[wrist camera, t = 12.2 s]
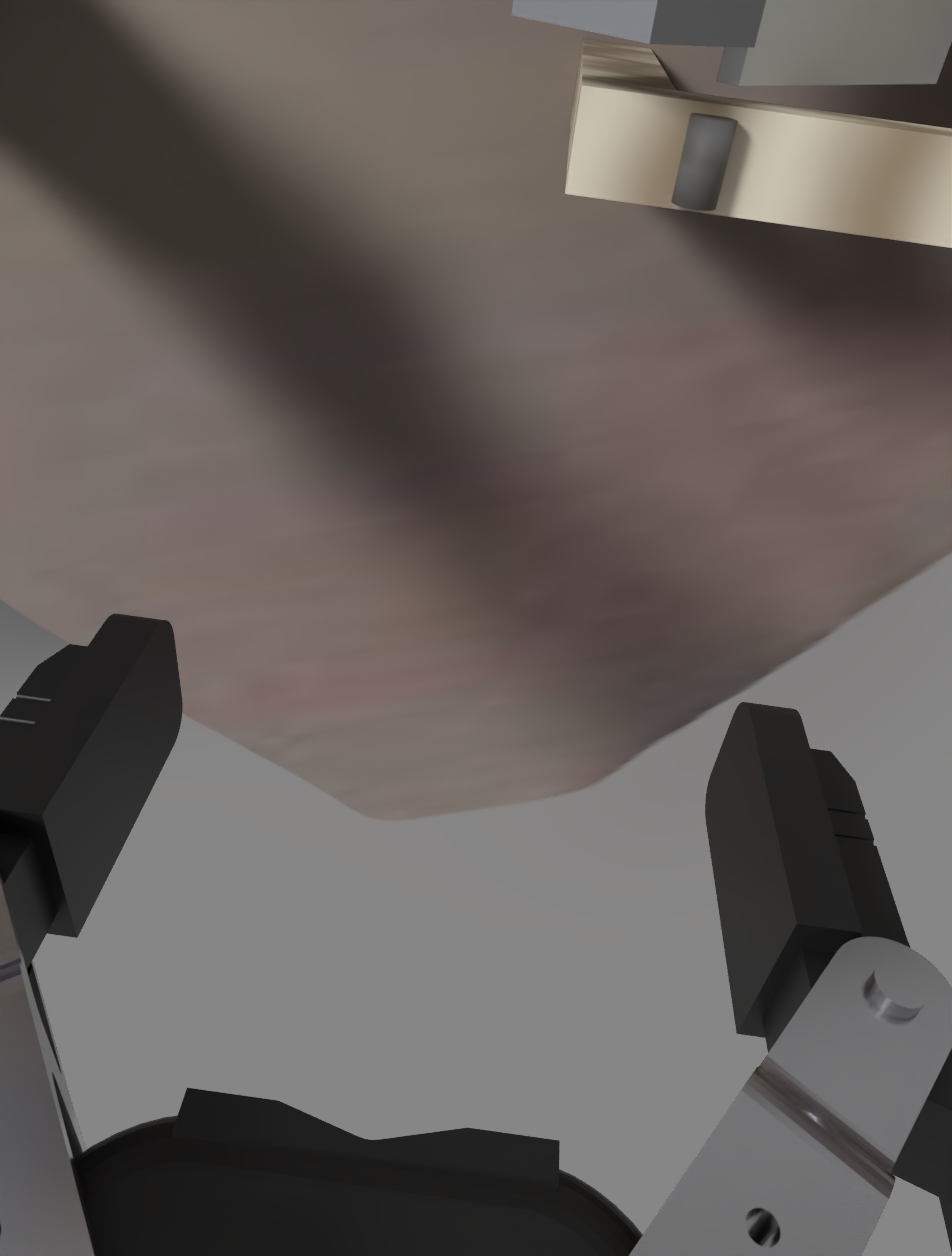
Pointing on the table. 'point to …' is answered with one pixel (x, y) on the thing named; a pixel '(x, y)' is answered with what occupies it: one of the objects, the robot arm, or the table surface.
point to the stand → (752, 155)
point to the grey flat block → (778, 35)
